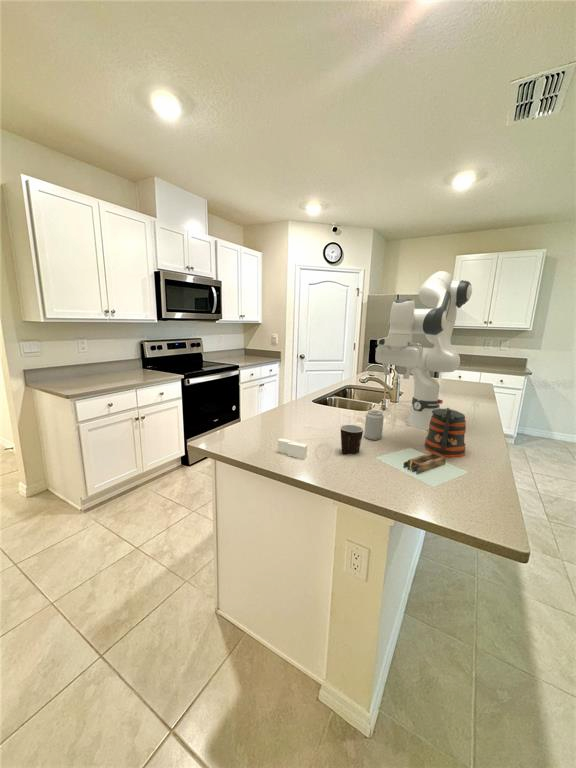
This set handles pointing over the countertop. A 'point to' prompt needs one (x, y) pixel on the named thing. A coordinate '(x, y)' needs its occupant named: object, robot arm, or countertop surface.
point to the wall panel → (428, 477)
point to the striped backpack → (446, 433)
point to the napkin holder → (292, 448)
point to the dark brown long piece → (425, 462)
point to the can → (374, 425)
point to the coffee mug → (351, 439)
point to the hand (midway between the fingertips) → (396, 376)
